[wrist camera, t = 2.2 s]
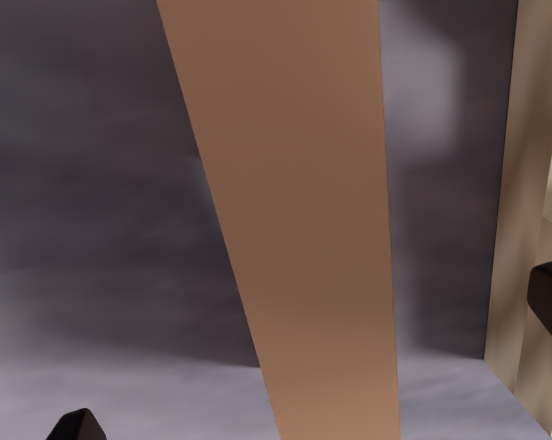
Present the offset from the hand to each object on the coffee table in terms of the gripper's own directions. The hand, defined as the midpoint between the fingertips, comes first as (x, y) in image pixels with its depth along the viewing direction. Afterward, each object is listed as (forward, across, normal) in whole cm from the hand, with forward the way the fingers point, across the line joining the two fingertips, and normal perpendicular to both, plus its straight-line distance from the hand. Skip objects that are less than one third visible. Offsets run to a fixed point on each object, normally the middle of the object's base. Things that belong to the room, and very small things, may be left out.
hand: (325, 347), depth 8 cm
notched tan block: (+6, 0, 0) cm, 6 cm away
